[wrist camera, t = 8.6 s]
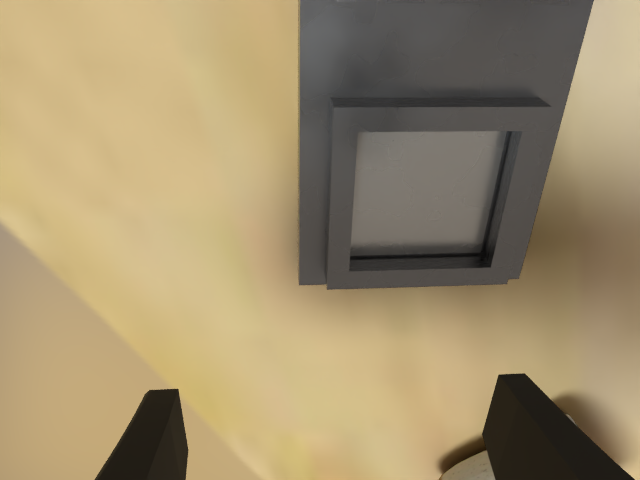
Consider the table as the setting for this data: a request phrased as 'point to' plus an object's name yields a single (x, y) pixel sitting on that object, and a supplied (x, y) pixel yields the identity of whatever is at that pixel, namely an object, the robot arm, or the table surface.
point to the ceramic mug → (474, 467)
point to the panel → (427, 135)
